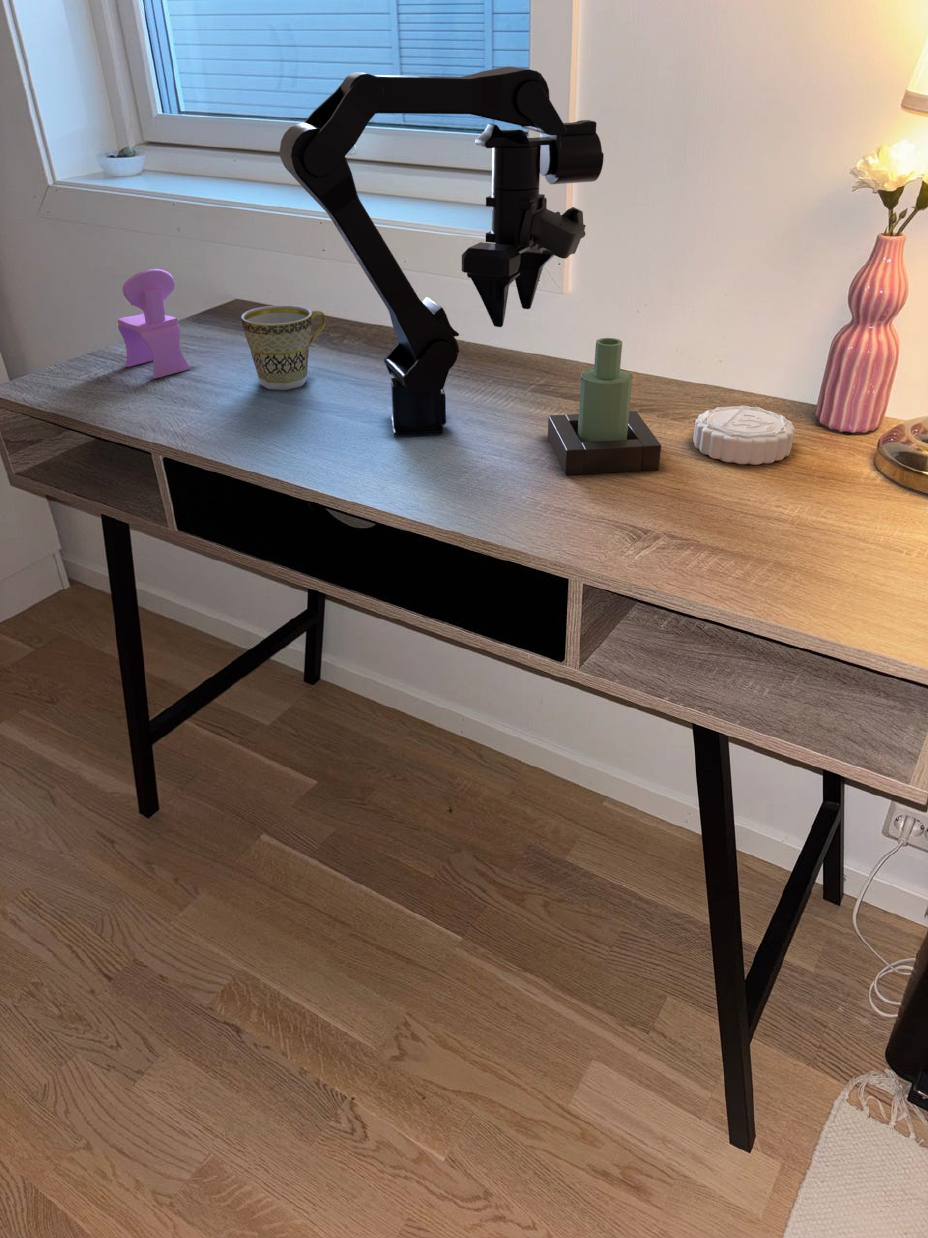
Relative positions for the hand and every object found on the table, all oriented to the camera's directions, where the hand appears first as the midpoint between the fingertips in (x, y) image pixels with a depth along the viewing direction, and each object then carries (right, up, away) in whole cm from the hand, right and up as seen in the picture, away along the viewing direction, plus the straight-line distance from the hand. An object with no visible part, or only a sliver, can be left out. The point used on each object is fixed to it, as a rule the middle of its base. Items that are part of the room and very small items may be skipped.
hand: (512, 317), depth 126 cm
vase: (+11, -19, -5) cm, 22 cm away
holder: (+11, -19, -5) cm, 22 cm away
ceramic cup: (-32, -4, +19) cm, 37 cm away
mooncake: (+29, -17, -3) cm, 34 cm away
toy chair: (-54, 0, +25) cm, 59 cm away
